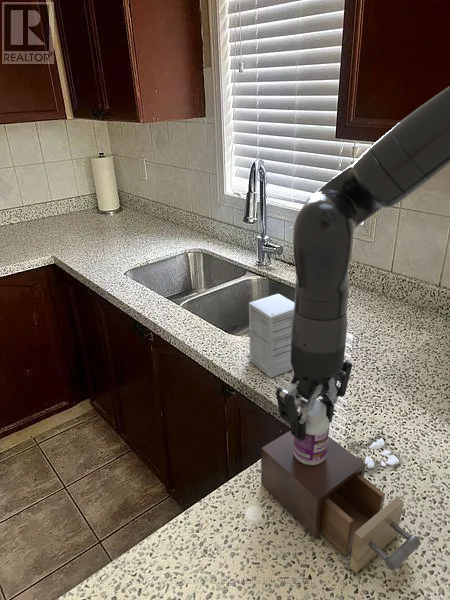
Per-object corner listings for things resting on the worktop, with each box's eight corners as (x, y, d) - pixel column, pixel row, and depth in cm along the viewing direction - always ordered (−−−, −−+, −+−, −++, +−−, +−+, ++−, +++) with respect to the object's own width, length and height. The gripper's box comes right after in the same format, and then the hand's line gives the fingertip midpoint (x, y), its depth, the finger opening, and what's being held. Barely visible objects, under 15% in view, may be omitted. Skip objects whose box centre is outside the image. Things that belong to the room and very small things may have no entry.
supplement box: (301, 366, 111) (303, 306, 103) (270, 379, 107) (271, 317, 99) (277, 349, 118) (278, 292, 111) (248, 360, 114) (247, 301, 107)
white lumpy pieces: (380, 442, 88) (381, 434, 87) (403, 467, 82) (405, 460, 81) (347, 451, 86) (348, 444, 85) (368, 478, 80) (369, 471, 79)
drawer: (422, 558, 65) (431, 522, 62) (381, 600, 61) (389, 563, 57) (338, 487, 77) (342, 454, 74) (298, 518, 72) (300, 483, 69)
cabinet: (359, 506, 75) (365, 463, 70) (314, 543, 69) (318, 499, 65) (304, 460, 84) (307, 420, 80) (260, 489, 79) (261, 447, 74)
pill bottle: (318, 471, 69) (322, 424, 65) (287, 458, 72) (289, 411, 68) (331, 449, 73) (336, 403, 69) (301, 437, 76) (304, 392, 72)
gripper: (300, 367, 56) (295, 465, 64) (373, 330, 64) (361, 421, 71) (261, 342, 62) (261, 435, 69) (332, 311, 69) (325, 398, 77)
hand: (312, 428), depth 70 cm, fingers closed on pill bottle, 5 cm apart
